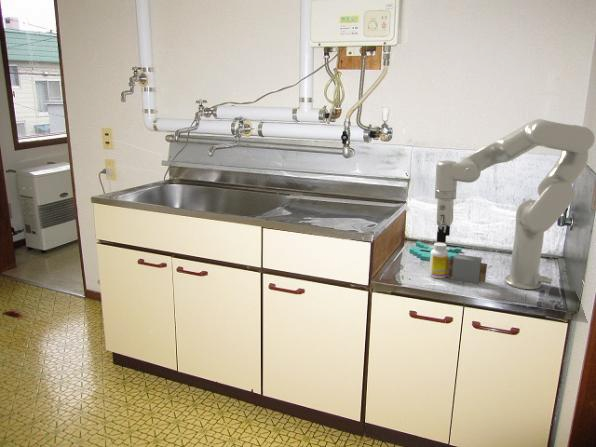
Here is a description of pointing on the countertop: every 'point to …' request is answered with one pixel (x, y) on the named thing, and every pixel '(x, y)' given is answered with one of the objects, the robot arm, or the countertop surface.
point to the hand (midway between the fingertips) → (443, 238)
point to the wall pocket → (466, 269)
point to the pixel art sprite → (425, 251)
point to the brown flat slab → (481, 276)
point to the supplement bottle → (438, 261)
